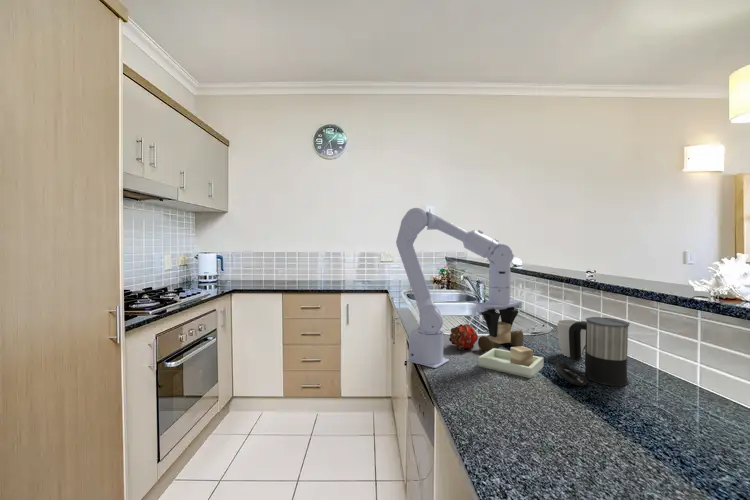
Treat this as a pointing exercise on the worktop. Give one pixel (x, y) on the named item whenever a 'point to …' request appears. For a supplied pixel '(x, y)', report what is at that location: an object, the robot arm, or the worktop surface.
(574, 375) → the milk frother
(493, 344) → the kendama
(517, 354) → the maple block
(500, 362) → the tray
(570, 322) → the cup
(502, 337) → the maple block
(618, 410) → the worktop surface
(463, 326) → the dragon fruit
